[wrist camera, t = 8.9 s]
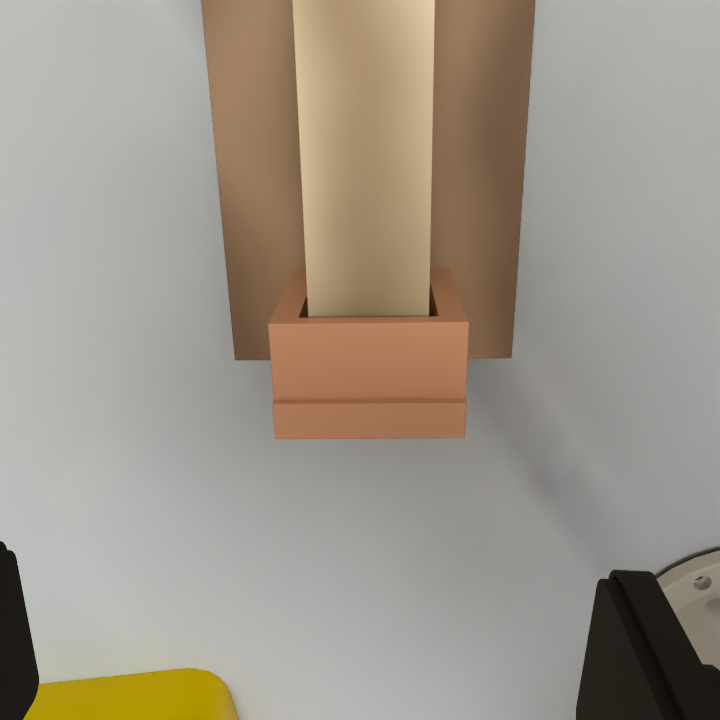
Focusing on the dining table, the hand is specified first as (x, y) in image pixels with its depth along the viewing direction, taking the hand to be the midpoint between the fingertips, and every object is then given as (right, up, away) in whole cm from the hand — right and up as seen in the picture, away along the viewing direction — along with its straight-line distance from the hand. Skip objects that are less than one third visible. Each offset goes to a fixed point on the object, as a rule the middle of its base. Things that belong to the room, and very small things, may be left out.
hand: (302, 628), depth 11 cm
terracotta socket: (+1, +6, +18) cm, 19 cm away
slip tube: (+1, +13, +13) cm, 19 cm away
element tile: (-13, -21, +32) cm, 40 cm away
